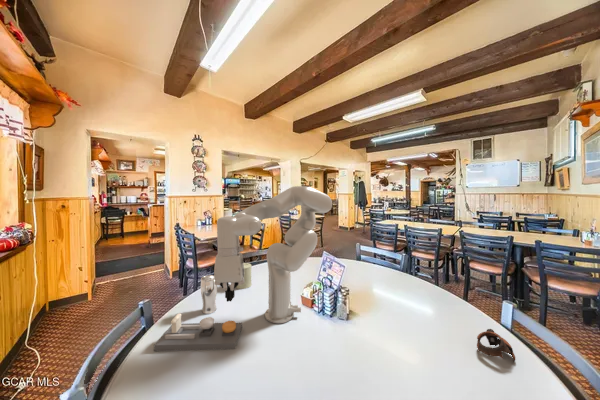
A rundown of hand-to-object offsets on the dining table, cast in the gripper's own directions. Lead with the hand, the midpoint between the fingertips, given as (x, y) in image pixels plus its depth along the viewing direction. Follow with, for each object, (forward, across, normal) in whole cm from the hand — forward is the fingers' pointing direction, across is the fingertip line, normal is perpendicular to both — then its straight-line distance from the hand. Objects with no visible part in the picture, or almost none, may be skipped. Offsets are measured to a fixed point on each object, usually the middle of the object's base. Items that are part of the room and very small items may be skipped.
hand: (230, 299), depth 82 cm
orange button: (+12, +1, 0) cm, 12 cm away
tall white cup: (+14, +15, -19) cm, 28 cm away
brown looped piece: (+16, -92, +12) cm, 94 cm away
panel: (+14, +11, 0) cm, 18 cm away
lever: (+12, +20, 0) cm, 23 cm away
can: (+15, +5, -45) cm, 47 cm away
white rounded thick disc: (+10, +8, 0) cm, 13 cm away
